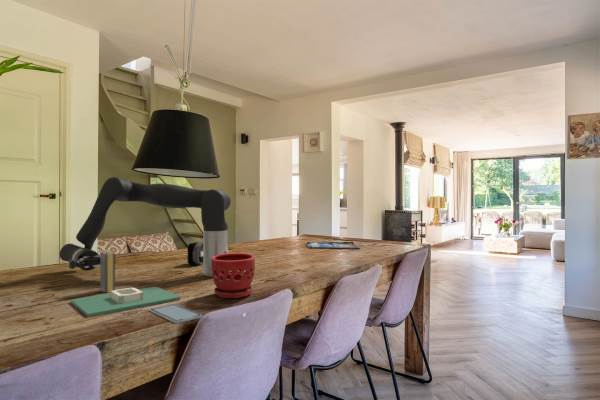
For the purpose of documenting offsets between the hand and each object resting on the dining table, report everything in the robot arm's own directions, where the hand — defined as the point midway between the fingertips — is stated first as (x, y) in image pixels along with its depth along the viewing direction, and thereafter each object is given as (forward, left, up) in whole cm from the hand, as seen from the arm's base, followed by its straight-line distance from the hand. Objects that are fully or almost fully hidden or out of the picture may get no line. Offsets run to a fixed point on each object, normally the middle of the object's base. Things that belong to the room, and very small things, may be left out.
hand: (97, 264), depth 126 cm
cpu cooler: (-28, -38, -7) cm, 48 cm away
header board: (-16, +23, -7) cm, 29 cm away
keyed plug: (-6, +9, -7) cm, 13 cm away
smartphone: (-32, +37, -8) cm, 49 cm away
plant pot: (-46, +20, -7) cm, 51 cm away
